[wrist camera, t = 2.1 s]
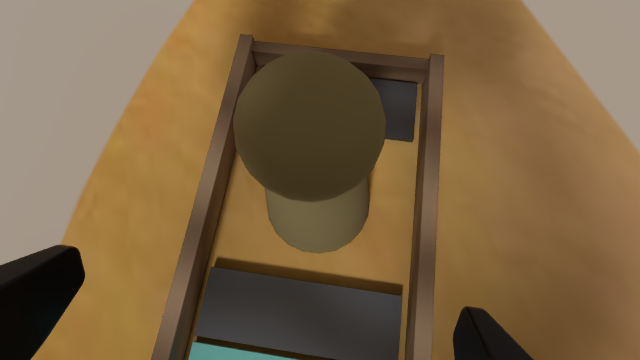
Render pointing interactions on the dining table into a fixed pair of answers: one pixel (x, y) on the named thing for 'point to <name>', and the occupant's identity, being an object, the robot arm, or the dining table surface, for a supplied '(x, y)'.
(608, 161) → the dining table surface
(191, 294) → the channel
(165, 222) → the dining table surface
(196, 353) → the pad
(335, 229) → the cork
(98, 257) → the dining table surface
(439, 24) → the dining table surface
